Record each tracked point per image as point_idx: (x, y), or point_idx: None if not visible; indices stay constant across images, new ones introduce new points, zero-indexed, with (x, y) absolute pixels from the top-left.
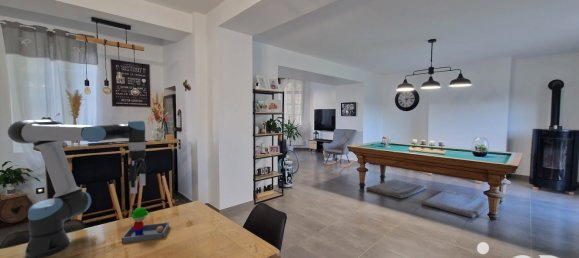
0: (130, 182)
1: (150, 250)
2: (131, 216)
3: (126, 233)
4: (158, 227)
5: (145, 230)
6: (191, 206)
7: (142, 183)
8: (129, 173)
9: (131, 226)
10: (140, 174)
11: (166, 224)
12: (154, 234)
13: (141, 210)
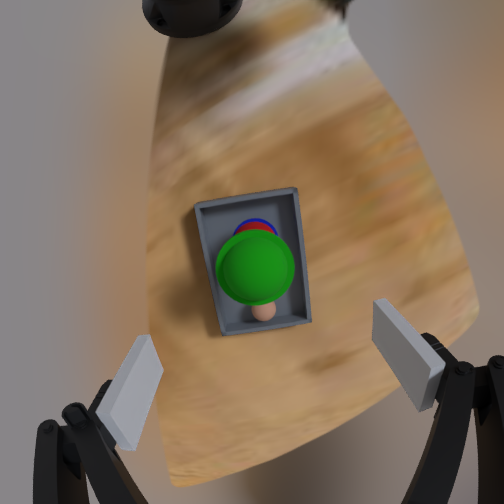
0: (102, 402)
1: (157, 313)
2: (229, 239)
3: (230, 202)
4: (259, 311)
5: (288, 242)
6: (456, 316)
7: (380, 332)
8: (35, 480)
9: (295, 189)
10: (428, 376)
11: (306, 313)
12: (216, 311)
13: (240, 293)
